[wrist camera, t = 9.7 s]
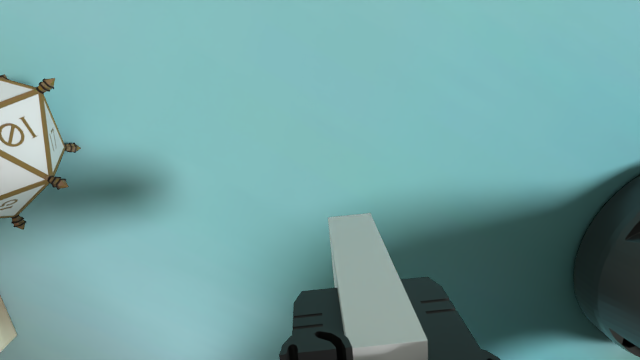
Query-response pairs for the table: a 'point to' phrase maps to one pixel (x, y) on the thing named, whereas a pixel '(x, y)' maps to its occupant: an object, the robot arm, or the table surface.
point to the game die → (27, 146)
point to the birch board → (5, 327)
